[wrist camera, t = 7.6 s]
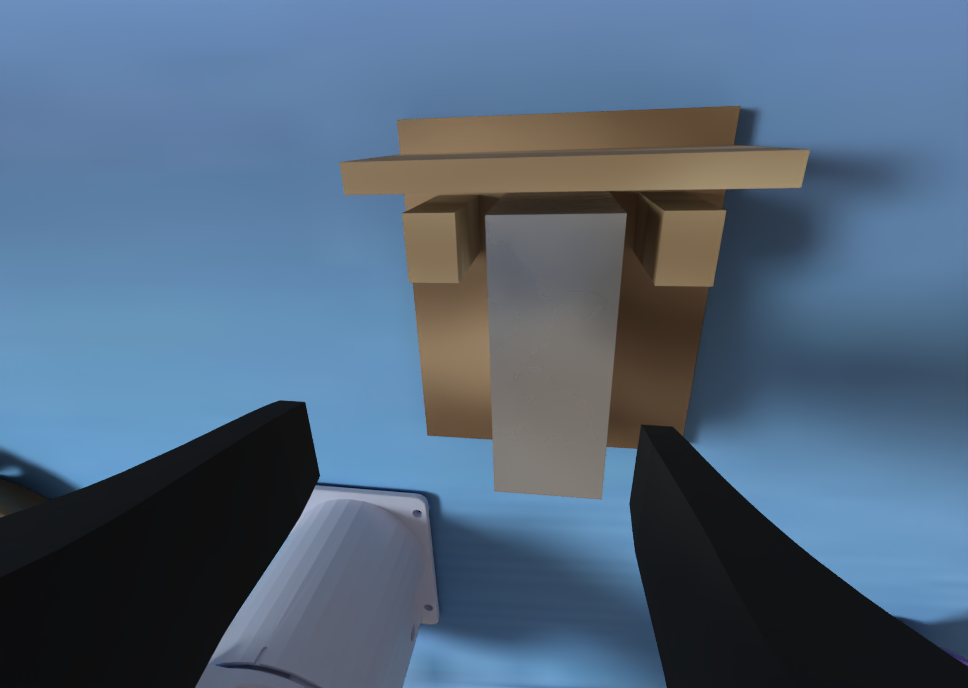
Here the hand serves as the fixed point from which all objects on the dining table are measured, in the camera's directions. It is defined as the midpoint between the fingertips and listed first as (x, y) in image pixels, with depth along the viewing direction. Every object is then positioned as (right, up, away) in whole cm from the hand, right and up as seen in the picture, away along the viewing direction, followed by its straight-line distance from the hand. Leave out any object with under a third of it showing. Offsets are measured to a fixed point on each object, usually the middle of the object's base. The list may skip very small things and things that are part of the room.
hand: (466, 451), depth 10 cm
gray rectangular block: (+3, +3, +8) cm, 9 cm away
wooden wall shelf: (+3, +4, +9) cm, 10 cm away
